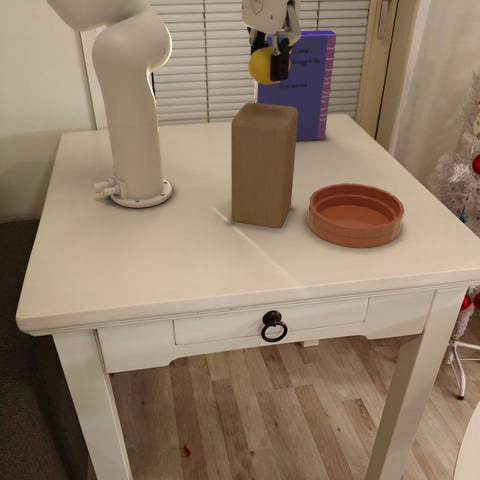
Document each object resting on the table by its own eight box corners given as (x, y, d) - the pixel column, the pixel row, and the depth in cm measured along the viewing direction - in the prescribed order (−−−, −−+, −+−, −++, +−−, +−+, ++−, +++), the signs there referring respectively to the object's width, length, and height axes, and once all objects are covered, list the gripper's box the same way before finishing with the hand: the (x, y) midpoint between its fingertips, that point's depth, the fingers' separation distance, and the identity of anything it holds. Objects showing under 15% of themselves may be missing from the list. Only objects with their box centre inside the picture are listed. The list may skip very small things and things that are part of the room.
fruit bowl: (345, 260, 93) (349, 238, 90) (289, 217, 105) (290, 196, 102) (418, 234, 100) (424, 213, 97) (358, 196, 112) (361, 176, 109)
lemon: (256, 89, 86) (257, 54, 82) (240, 81, 89) (240, 47, 86) (296, 82, 89) (299, 48, 85) (279, 74, 92) (281, 41, 89)
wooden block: (291, 207, 108) (299, 105, 95) (281, 231, 100) (288, 125, 88) (243, 200, 110) (245, 100, 97) (230, 224, 102) (229, 119, 90)
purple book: (319, 132, 138) (330, 29, 123) (324, 139, 135) (336, 34, 119) (253, 135, 136) (255, 31, 121) (256, 143, 133) (259, 36, 117)
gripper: (222, -64, 81) (223, 65, 92) (286, -52, 69) (278, 93, 81) (264, -66, 84) (260, 59, 95) (332, -54, 72) (318, 86, 84)
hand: (268, 74), depth 88 cm, fingers closed on lemon, 5 cm apart
